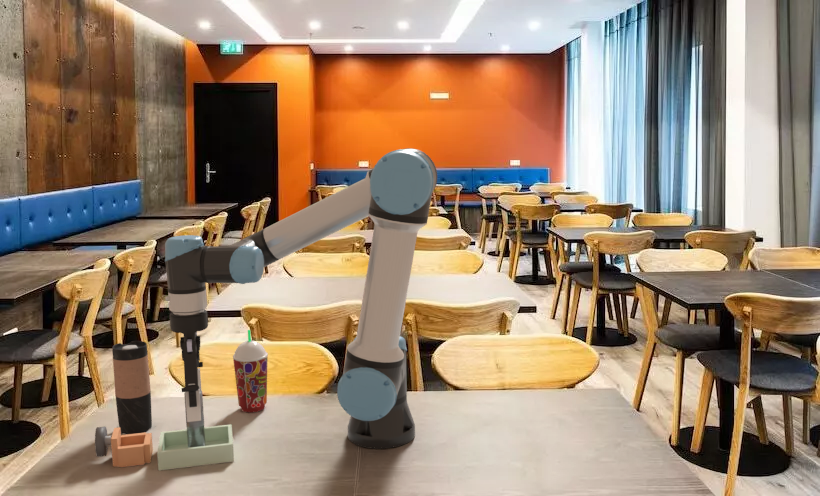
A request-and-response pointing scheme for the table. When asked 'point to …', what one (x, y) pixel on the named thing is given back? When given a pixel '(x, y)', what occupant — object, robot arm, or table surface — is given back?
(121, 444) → the block
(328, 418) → the table surface
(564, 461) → the table surface
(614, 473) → the table surface
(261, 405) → the smoothie
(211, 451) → the tray
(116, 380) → the travel mug
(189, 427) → the pin
